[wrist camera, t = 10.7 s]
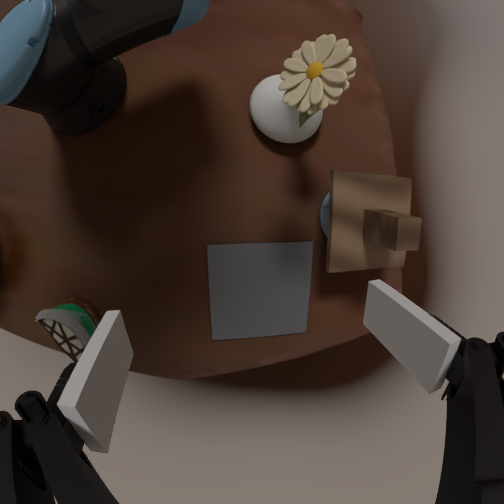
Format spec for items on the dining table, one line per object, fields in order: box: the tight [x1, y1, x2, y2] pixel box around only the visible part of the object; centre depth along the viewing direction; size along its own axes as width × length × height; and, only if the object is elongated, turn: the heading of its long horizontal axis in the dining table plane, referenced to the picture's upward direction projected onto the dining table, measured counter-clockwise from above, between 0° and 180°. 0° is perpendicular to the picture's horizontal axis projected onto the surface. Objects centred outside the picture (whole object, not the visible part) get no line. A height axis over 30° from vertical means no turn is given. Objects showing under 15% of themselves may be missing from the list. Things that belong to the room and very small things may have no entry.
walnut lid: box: [326, 171, 422, 273], centre depth 33 cm, size 14×14×9 cm
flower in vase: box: [250, 34, 356, 143], centre depth 26 cm, size 13×11×25 cm
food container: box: [35, 297, 101, 363], centre depth 37 cm, size 12×6×10 cm, turn 32°
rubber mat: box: [207, 241, 313, 340], centre depth 45 cm, size 17×17×1 cm
